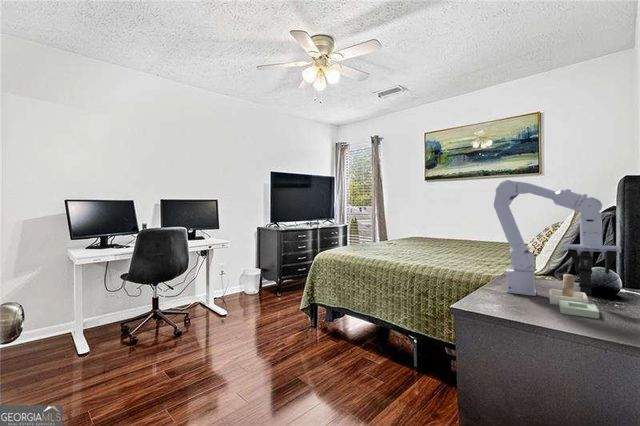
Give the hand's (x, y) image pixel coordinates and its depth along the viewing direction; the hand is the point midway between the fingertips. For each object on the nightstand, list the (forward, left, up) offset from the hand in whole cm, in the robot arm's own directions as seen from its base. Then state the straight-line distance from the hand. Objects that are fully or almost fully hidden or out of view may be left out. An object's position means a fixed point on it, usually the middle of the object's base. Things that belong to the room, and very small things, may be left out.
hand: (591, 272), depth 105 cm
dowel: (-7, -4, -10) cm, 13 cm away
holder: (-5, -13, -11) cm, 18 cm away
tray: (-7, -3, -11) cm, 13 cm away
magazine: (0, +20, -11) cm, 22 cm away
